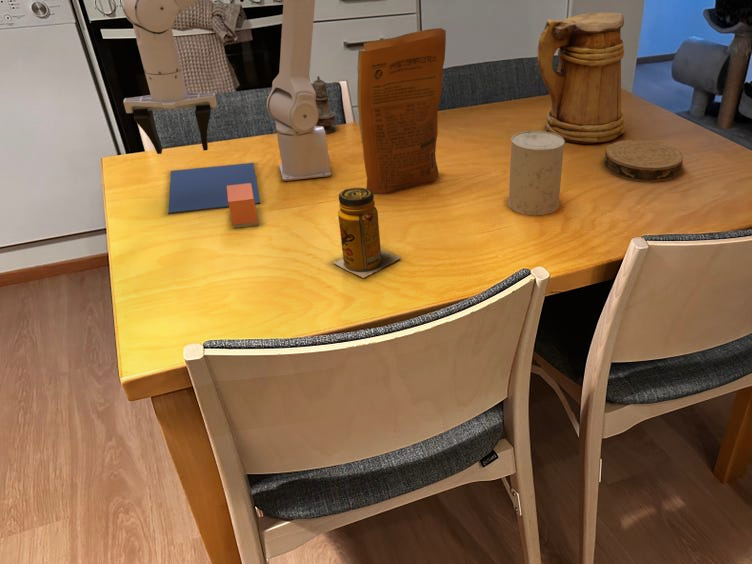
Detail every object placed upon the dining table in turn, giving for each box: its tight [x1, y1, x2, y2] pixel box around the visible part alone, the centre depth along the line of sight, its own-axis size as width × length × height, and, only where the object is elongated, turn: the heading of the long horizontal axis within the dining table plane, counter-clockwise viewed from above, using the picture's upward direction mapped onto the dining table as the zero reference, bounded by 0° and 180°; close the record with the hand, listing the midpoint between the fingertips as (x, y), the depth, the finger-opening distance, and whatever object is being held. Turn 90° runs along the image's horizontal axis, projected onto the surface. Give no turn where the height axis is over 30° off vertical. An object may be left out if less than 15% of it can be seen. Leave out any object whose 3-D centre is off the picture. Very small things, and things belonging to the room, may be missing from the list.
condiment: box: [332, 187, 402, 279], centre depth 109 cm, size 7×8×12 cm
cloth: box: [167, 162, 261, 215], centre depth 134 cm, size 16×20×1 cm
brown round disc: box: [603, 139, 684, 183], centre depth 146 cm, size 16×16×3 cm
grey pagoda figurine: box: [312, 75, 337, 134], centre depth 158 cm, size 6×6×12 cm
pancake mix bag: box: [356, 27, 447, 195], centre depth 129 cm, size 7×19×28 cm, turn 125°
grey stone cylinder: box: [507, 130, 566, 216], centre depth 127 cm, size 10×10×12 cm
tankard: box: [537, 11, 626, 145], centre depth 155 cm, size 18×24×25 cm
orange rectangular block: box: [227, 183, 259, 229], centre depth 123 cm, size 4×7×5 cm, turn 18°
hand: (182, 150), depth 123 cm, fingers open, 7 cm apart
